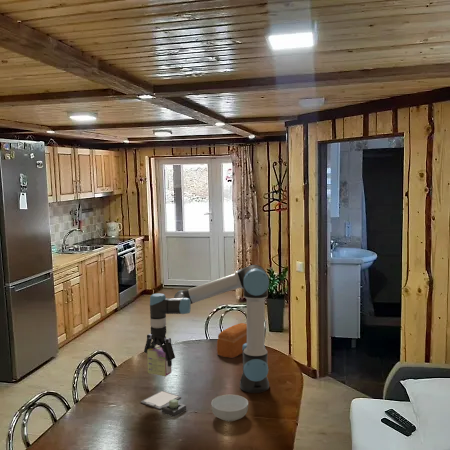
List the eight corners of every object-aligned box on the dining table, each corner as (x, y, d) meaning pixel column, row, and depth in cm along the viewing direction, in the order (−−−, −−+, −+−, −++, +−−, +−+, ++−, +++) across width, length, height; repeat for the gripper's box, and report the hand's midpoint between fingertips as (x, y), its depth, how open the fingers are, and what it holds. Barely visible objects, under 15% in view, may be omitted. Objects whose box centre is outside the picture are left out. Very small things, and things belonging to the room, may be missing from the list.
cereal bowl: (236, 430, 206) (236, 414, 206) (204, 420, 215) (203, 405, 215) (255, 413, 221) (255, 398, 220) (224, 405, 230) (224, 391, 229)
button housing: (186, 410, 226) (186, 405, 225) (174, 417, 219) (174, 412, 219) (173, 405, 230) (173, 400, 230) (161, 412, 224) (161, 407, 224)
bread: (215, 355, 297) (214, 330, 295) (238, 342, 318) (238, 319, 316) (233, 359, 289) (233, 333, 287) (256, 346, 310) (256, 322, 308)
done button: (180, 405, 225) (180, 400, 225) (174, 409, 222) (174, 404, 221) (173, 403, 227) (173, 398, 227) (167, 406, 224) (167, 401, 224)
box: (172, 372, 235) (171, 348, 234) (165, 376, 230) (165, 352, 229) (154, 369, 240) (153, 346, 239) (147, 373, 235) (146, 349, 234)
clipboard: (181, 397, 239) (181, 395, 238) (159, 410, 226) (159, 407, 226) (162, 391, 246) (161, 389, 246) (140, 403, 234) (140, 400, 234)
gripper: (181, 327, 229) (183, 372, 231) (146, 320, 243) (148, 362, 245) (171, 332, 223) (172, 377, 225) (135, 323, 237) (137, 367, 239)
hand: (159, 369), depth 235 cm, fingers closed on box, 11 cm apart
